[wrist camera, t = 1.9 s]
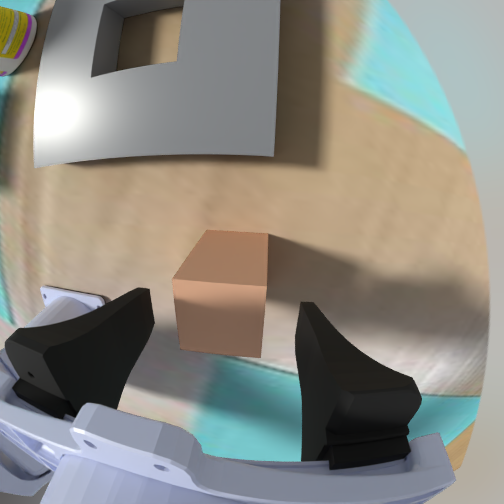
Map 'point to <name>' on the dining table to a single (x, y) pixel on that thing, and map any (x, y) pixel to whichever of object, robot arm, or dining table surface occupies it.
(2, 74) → the supplement bottle
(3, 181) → the dining table surface
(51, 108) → the socket block
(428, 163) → the dining table surface
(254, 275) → the peg
